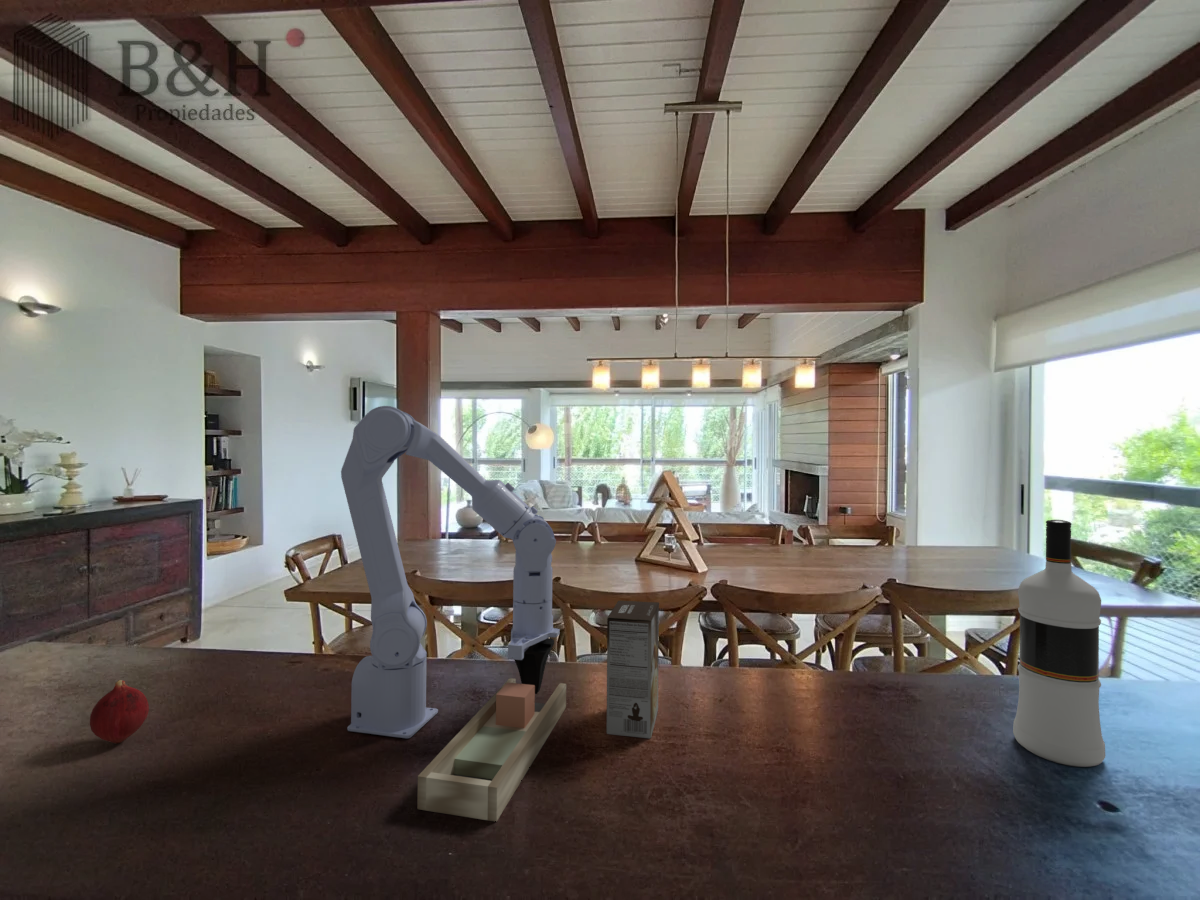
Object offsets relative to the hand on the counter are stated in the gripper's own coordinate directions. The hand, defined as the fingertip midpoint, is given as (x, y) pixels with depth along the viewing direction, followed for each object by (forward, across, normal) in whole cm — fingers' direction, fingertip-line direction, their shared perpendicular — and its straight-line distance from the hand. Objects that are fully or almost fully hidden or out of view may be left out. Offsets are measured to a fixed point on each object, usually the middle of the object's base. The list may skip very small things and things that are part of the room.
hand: (531, 691), depth 82 cm
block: (+1, -7, 0) cm, 7 cm away
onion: (+3, -20, +49) cm, 53 cm away
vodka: (+3, +6, -70) cm, 70 cm away
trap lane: (+3, -11, 0) cm, 11 cm away
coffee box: (+3, +1, -15) cm, 15 cm away
